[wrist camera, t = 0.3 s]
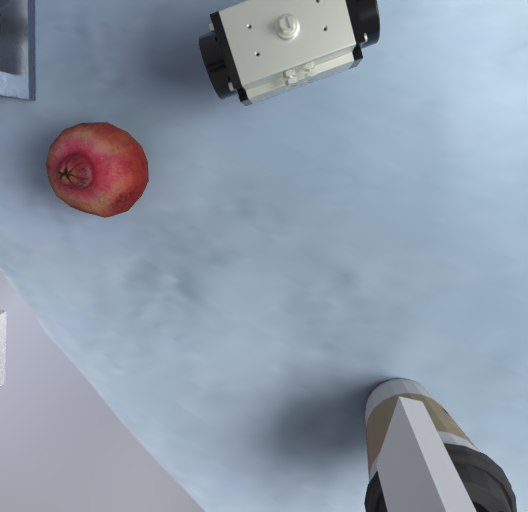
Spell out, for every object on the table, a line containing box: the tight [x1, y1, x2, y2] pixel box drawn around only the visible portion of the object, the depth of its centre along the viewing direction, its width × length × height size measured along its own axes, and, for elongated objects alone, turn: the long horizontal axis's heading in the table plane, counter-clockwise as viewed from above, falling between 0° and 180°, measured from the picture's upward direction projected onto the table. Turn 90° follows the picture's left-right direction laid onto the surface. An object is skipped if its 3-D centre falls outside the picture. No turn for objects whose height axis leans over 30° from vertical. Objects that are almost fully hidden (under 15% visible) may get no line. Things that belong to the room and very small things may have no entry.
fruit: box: [46, 123, 149, 217], centre depth 35 cm, size 8×8×10 cm
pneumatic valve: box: [199, 0, 380, 106], centre depth 30 cm, size 6×12×12 cm, turn 108°
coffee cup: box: [364, 378, 517, 512], centre depth 37 cm, size 11×11×15 cm
